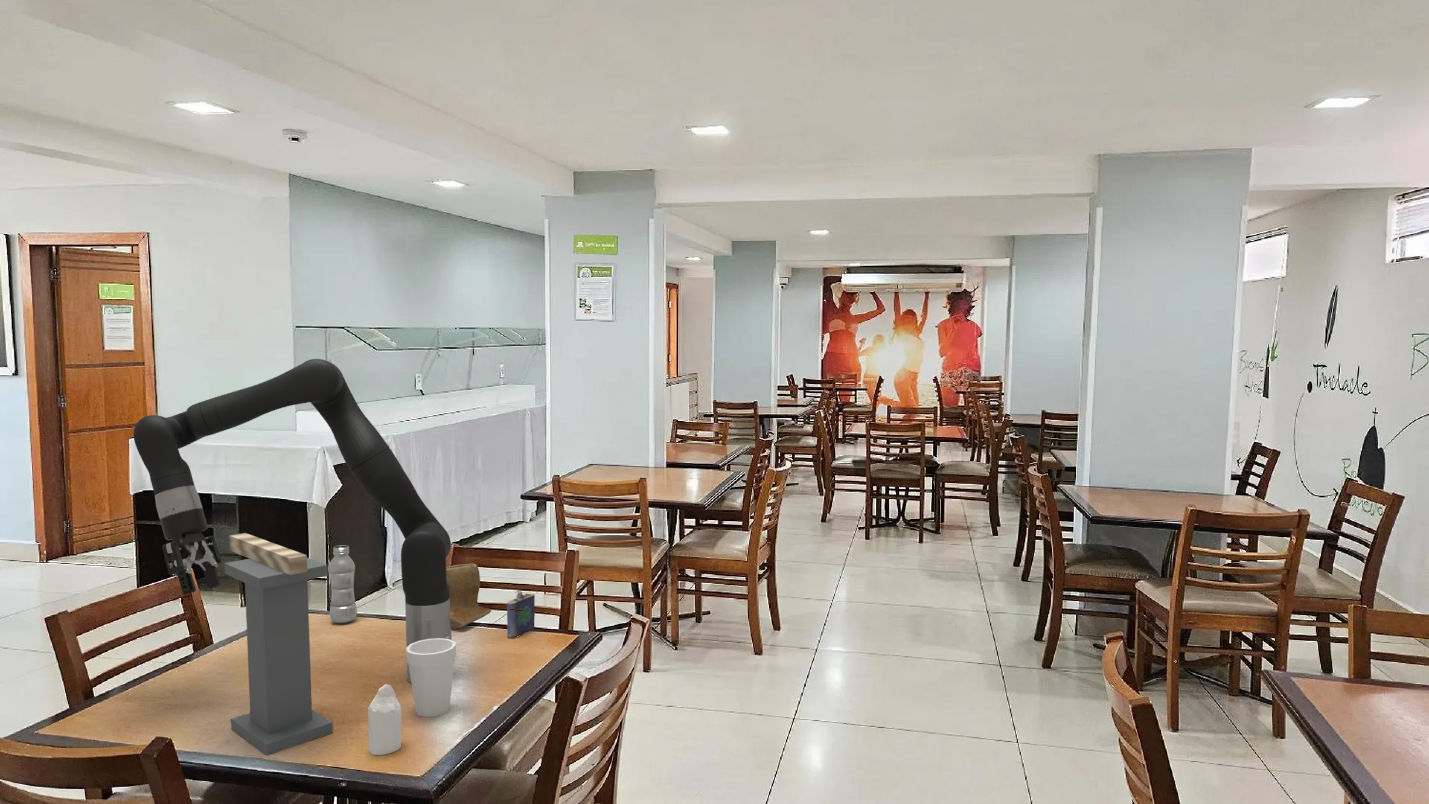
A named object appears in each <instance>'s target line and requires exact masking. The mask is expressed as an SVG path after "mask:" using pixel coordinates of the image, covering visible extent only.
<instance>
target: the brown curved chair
mask: <svg viewBox="0 0 1429 804" xmlns="http://www.w3.org/2000/svg"><path fill="white" fill-rule="evenodd" d="M446 578H447V584H448V585H449V588H450V628H451V630H458V629H460V628H463V627H465V626H467V625H469V624H473V623H475V622H476V621H478V620H481V619H482V618H484V617H486V616H487V615H489V614H490V613H491V612H492V609H491V608H488V607H483V606H481V605H479V603H478V602H479V600H478V599H479V592H480V587H481V575H480V570H479V566H478V565H477V564H475V563H462V564H455V565H449V566H446Z"/></svg>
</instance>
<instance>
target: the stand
mask: <svg viewBox="0 0 1429 804" xmlns="http://www.w3.org/2000/svg"><path fill="white" fill-rule="evenodd" d="M224 574H225V575H227V576H229V577H231V578H233V579H236V580H237V581H240V582H242V583H244V586H245V587H244V590H245V591H244V593H245V594H244V595H245V617H246V639H247V642H246V645H247V665H248V688H249V690H248V691H249V713H246V714H243V715H240V716H236V717H233V718H231V719H230V726H231V727H230V730H232V731H233V732H234V733H235V734H237V735H238V736H239V737H241V738H243V740H245V741H246V742H248V743H249V744H250V745H251V746H253V747H254V748H255V749H257V750H259V751H260V752H261V753H262V754H263V755H265V756H268V755H271V754H275V753H278V752H280V751H284V750H287V749H289V748H292V747H295V746H298V745H301V744H305V743H307V742H310V741H313V740H315V739H318V738H321V737H324V736H328V735H330V734H333V729H334V728H333V727H334V725H333V722H332V721H331V720H330V719H327V717H325V716H323V715H321V714H320V713H318V712H317V711H315V710H313V707H312V706H313V705H312V704H313V703H312V701H313V700H312V678H311V677H312V676H311V647H310V646H311V642H310V621H309V618H310V617H309V592H308V589H309V588H308V587H309V586H308V580H313V579H318V578H319V579H320V578H323V577H328V576H329V573H328V564H326V563H323V562H320V561H317V560H314V559H311V558H309V557H307V572H304V573H299V574H294V575H289V574H286V573H284V572H281V571H279V570H277V569H274V568H272V567H269V566H267V565H264V564H262V563H259V562H257V561H255V560H252V559H250V558H246V559H241V560H235V561H229V562H224Z"/></svg>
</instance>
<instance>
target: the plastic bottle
mask: <svg viewBox="0 0 1429 804" xmlns="http://www.w3.org/2000/svg"><path fill="white" fill-rule="evenodd" d="M332 554H333V558H332V559H331V560H330V562H329V563H328V565H327V573H328V576H329V582H330V592H331V596H330V598H331V599H330V608H329V617H330V620H331V621H332V622H333V623H335V624H346V623H349V622H350V623H351V622H353V621H354V620H356V618H357V614H358V613H357V612H358V609H357V603H356V599H355V592H354V587H355V586H354V584H355V582H354V581H355V570H356V565H355V562H354V560H353V559H352V558H351V557H350V556H349V554H350V547H349V545H347V544H345V545H343V544H342V545H335V546H333V552H332Z"/></svg>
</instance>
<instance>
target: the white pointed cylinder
mask: <svg viewBox="0 0 1429 804" xmlns="http://www.w3.org/2000/svg"><path fill="white" fill-rule="evenodd" d="M398 699H399V698H398V697H397V694H396V693H395V691H394V689H393V686H391V684H387V683H386V684H383V686H381V687H379V688H378V690H377V692H376V695H375V696H374V698H373V699H372V701H371V702H370V704H369V705H368V708H367V723H368V724H367V728H368V751H369V754H371V755H373V756H385V755H389V754H392V753H394V752H396V751H399V749H401V747H402V719H403V718H402V706H401V703H400V702H399V700H398Z"/></svg>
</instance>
